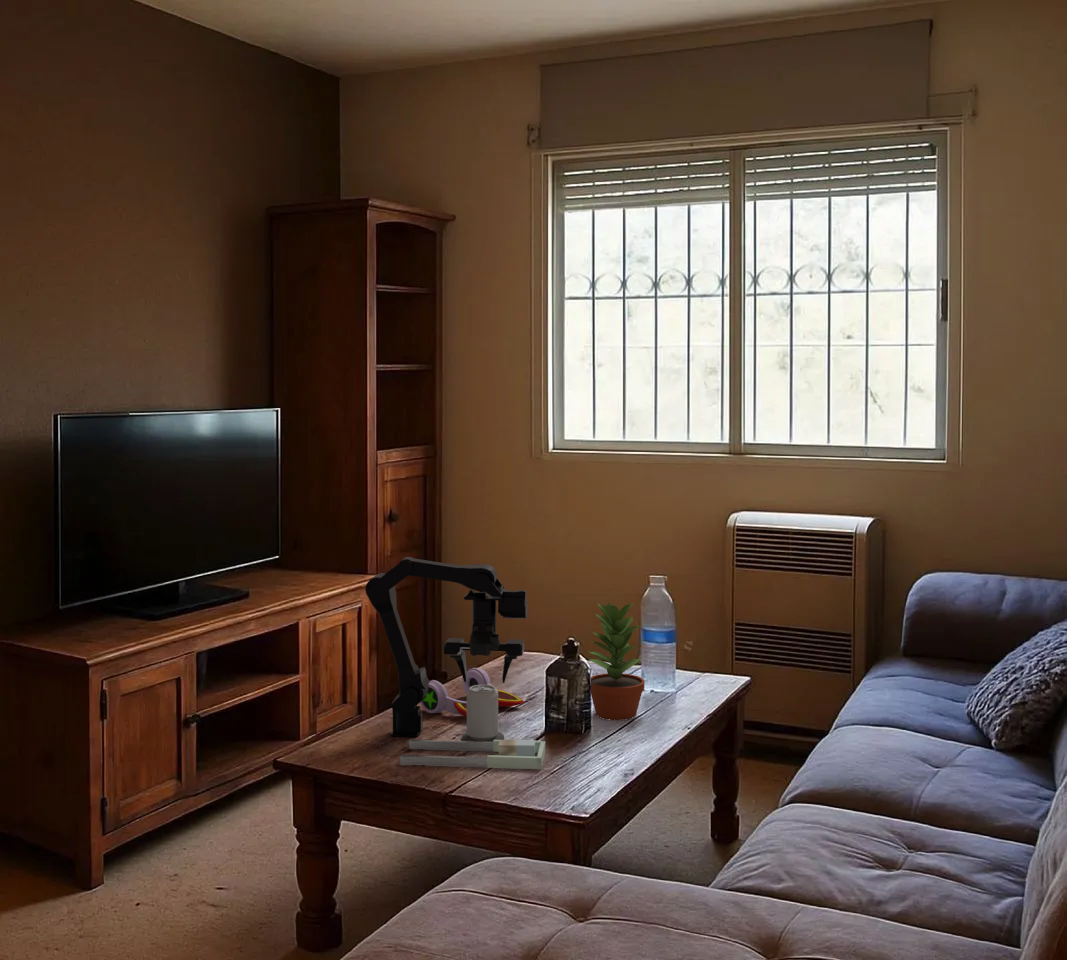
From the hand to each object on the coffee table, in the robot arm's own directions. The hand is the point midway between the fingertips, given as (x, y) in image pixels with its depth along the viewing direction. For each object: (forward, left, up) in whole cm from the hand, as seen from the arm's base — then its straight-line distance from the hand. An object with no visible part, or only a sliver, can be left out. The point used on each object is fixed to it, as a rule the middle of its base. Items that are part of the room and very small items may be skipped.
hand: (484, 682), depth 283 cm
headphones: (-6, +21, -14) cm, 26 cm away
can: (0, -3, -13) cm, 13 cm away
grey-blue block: (+11, -17, -13) cm, 24 cm away
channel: (-6, -17, -13) cm, 22 cm away
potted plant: (+31, +20, -13) cm, 39 cm away
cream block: (+7, -17, -13) cm, 23 cm away
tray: (+9, -17, -13) cm, 23 cm away
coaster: (0, -3, -13) cm, 13 cm away
